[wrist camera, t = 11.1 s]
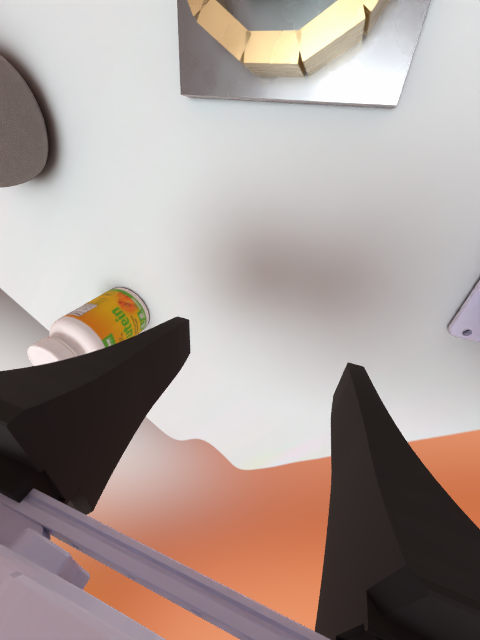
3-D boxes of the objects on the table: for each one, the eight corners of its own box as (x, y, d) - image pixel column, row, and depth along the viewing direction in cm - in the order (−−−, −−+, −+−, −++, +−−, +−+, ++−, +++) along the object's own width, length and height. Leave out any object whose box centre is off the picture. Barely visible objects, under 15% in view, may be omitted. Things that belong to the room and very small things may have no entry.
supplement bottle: (158, 328, 28) (87, 393, 20) (123, 330, 30) (47, 389, 23) (136, 283, 26) (47, 337, 18) (100, 289, 28) (7, 339, 20)
